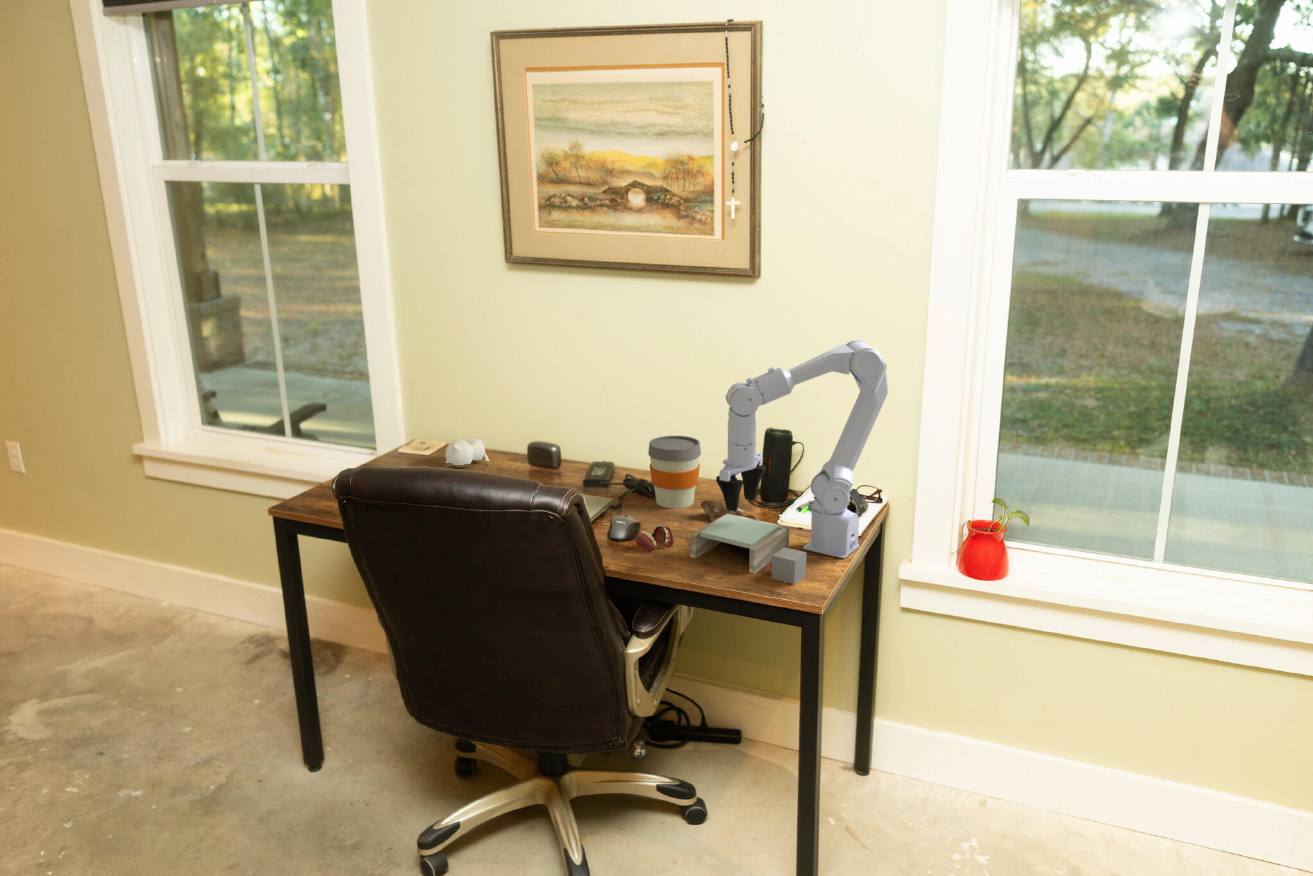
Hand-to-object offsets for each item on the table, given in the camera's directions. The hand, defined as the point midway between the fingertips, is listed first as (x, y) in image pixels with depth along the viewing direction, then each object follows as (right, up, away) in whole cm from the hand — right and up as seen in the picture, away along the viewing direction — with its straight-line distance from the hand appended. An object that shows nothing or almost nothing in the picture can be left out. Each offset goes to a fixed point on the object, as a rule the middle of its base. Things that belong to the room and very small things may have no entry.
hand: (741, 504), depth 200 cm
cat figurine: (-69, +6, +62) cm, 93 cm away
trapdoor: (0, -6, 0) cm, 6 cm away
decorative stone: (0, -6, +20) cm, 20 cm away
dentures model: (-18, -10, +6) cm, 21 cm away
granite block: (+8, -14, -10) cm, 19 cm away
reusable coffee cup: (-13, -2, +32) cm, 35 cm away
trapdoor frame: (0, -10, +1) cm, 10 cm away
